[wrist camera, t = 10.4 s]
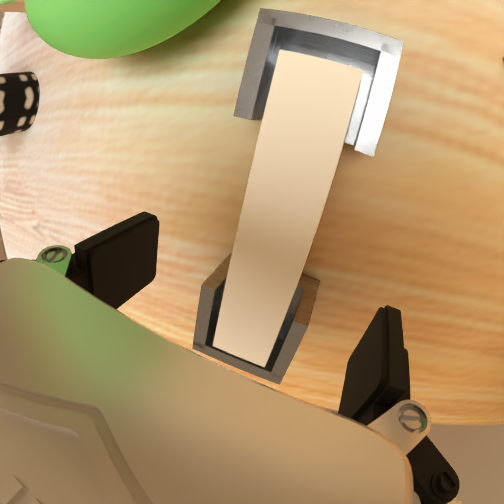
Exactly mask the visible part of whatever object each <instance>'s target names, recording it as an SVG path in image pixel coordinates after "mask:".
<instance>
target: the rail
mask: <svg viewBox="0 0 504 504" xmlns="http://www.w3.org/2000/svg"><path fill="white" fill-rule="evenodd" d="M362 73H363V70H362V69H358V68H355V67H352V66H349V65H345V64H342V63H338V62H334V61H331V60H327V59H323V58H319V57H314V56H310V55H306V54H301V53H296V52H291V51H286V50H279V54H278V58H277V62H276V66H275V70H274V74H273V78H272V82H271V86H270V90H269V94H268V98H267V102H266V107H265V111H264V115H263V119H262V123H261V127H260V132H259V136H258V140H257V144H256V148H255V153H254V157H253V161H252V166H251V170H250V174H249V179H248V183H247V187H246V192H245V196H244V201H243V205H242V210H241V214H240V219H239V223H238V228H237V232H236V237H235V241H234V246H233V250H232V255H231V260H230V264H229V269H228V274H227V279H226V283H225V288H224V293H223V298H222V302H221V307H220V312H219V317H218V322H217V327H216V332H215V337H214V342H213V346H214V347H216V348H219V349H221V350H223V351H226V352H228V353H230V354H233V355H235V356H238V357H240V358H242V359H245V360H247V361H250V362H252V363H255V364H258V365H260V366H263V367H265V365H266V363H267V361H268V358H269V356H270V354H271V351H272V349H273V346H274V344H275V341H276V339H277V337H278V334H279V332H280V329H281V327H282V324H283V322H284V319H285V316H286V314H287V311H288V309H289V306H290V303H291V301H292V298H293V295H294V293H295V290H296V287H297V285H298V282H299V279H300V276H301V274H302V271H303V268H304V265H305V262H306V260H307V257H308V254H309V251H310V248H311V245H312V242H313V240H314V237H315V234H316V231H317V228H318V225H319V222H320V219H321V216H322V213H323V210H324V207H325V204H326V201H327V197H328V194H329V191H330V188H331V185H332V182H333V178H334V175H335V172H336V169H337V165H338V162H339V159H340V156H341V152H342V149H343V145H344V142H345V139H346V135H347V132H348V128H349V124H350V121H351V117H352V114H353V110H354V106H355V103H356V99H357V95H358V91H359V87H360V83H361V78H362Z"/></svg>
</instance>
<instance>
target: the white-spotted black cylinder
mask: <svg viewBox="0 0 504 504" xmlns="http://www.w3.org/2000/svg"><path fill="white" fill-rule="evenodd" d="M38 103H39V84H38V80H37V78H36V76H35V74H34V73H32V72H18V73H7V74H0V136H3V135H7V134H11V133H16V132H20V131H25V130H27V129H28V128H29V127H30V126H31V125H32V123H33V121H34V119H35V116H36V113H37V109H38Z"/></svg>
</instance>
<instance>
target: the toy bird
mask: <svg viewBox="0 0 504 504" xmlns="http://www.w3.org/2000/svg"><path fill="white" fill-rule="evenodd" d="M14 1H17V0H0V5H5V4H8V3H11V2H14ZM24 1H25V9H26V13H27V17H28V19H29V22H30V24H31V26H32V27H33V29H34V30H35V32H36V33H37V34H38V35H39V36H40V37H41V38H42V39H43V40H44V41H45V42H46V43H47V44H49V45H50V46H52V47H53V48H55V49H57V50H59V51H61V52H64V53H66V54H69V55H72V56H76V57H81V58H89V59H107V58H115V57H121V56H126V55H130V54H133V53H137V52H140V51H143V50H145V49H148V48H150V47H153V46H155V45H157V44H159V43H161V42H163V41H165V40H167V39H169V38H171V37H172V36H174V35H176V34H177V33H179V32H181V31H182V30H184V29H185V28H187V27H188V26H190V25H191V24H193V23H194V22H195V21H197V20H198V19H200V18H201V17H202V16H203V15H205V14H206V13H207V12H208V11H210V10H211V9H212V8H213V7H214V6H215V5H217V4H218V3H219V2H220V1H221V0H24Z"/></svg>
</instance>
